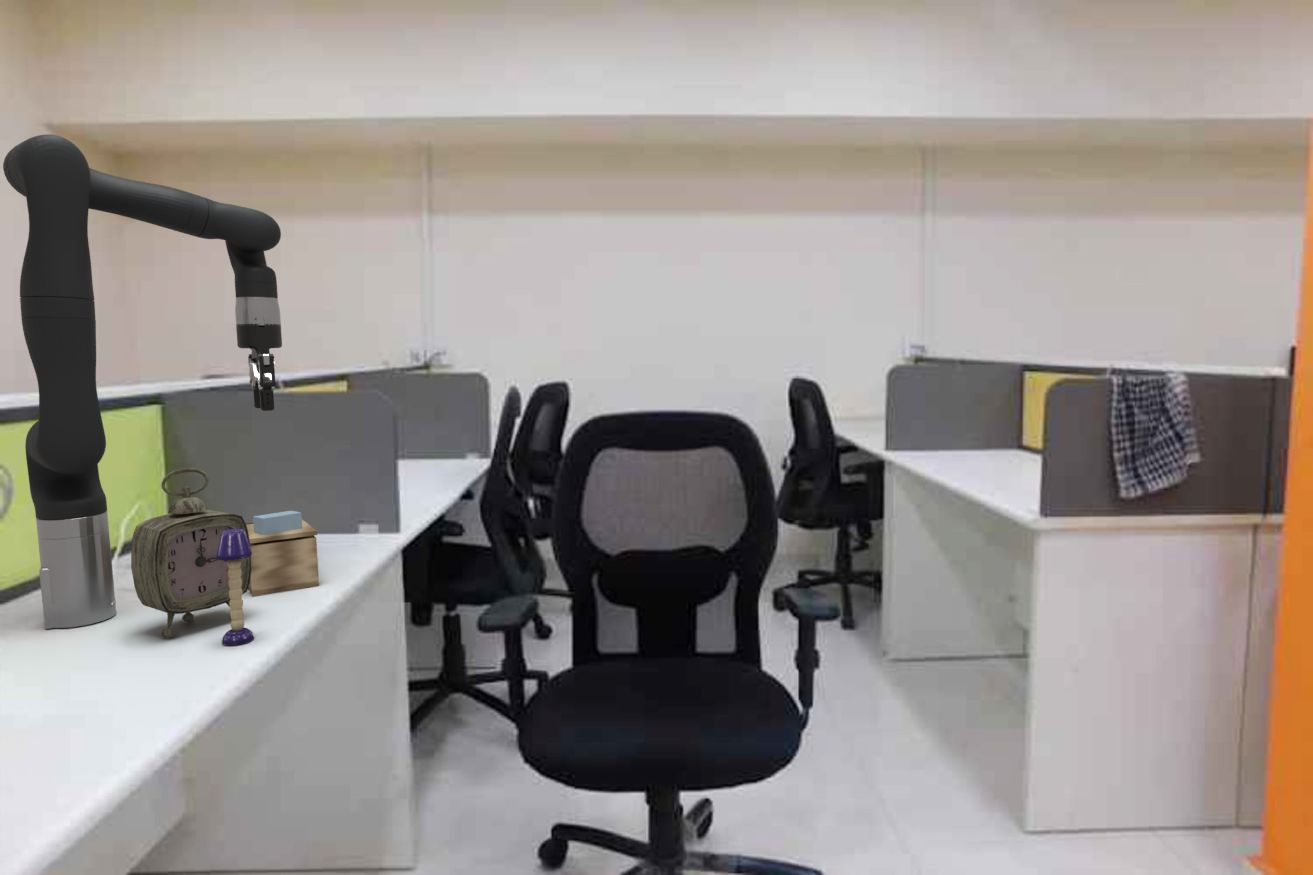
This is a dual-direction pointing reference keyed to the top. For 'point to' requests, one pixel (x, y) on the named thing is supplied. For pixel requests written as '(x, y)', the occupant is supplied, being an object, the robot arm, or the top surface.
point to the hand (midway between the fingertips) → (264, 409)
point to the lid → (281, 533)
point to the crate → (283, 565)
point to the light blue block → (277, 522)
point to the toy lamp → (235, 582)
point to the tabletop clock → (184, 556)
